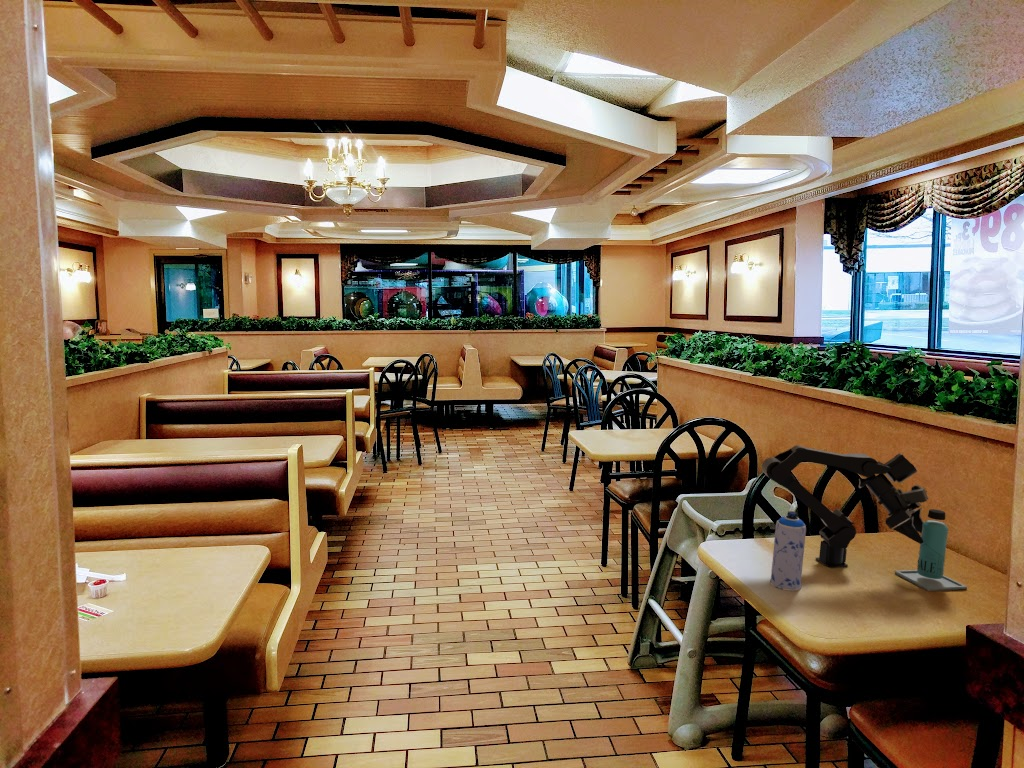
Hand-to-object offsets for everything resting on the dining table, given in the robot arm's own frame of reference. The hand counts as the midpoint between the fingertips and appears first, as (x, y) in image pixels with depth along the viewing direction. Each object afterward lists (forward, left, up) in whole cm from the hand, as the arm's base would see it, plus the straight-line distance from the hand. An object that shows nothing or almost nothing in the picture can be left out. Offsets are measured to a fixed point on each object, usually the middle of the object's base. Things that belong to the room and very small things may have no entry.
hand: (925, 539), depth 191 cm
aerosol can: (-42, -1, -12) cm, 44 cm away
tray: (+2, -2, -12) cm, 12 cm away
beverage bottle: (+1, -2, -11) cm, 12 cm away
